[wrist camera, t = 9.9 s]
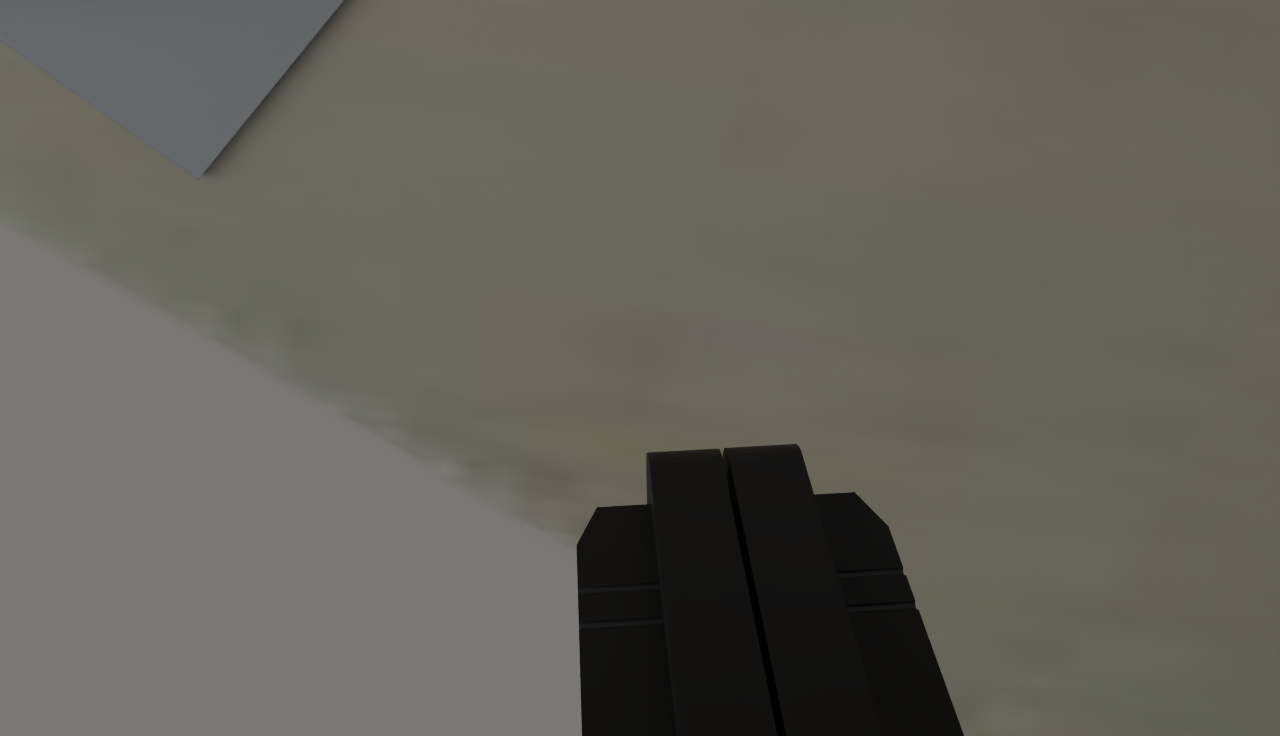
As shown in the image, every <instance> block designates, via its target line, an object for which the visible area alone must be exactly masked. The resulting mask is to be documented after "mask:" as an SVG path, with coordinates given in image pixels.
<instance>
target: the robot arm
mask: <svg viewBox="0 0 1280 736" xmlns="http://www.w3.org/2000/svg"><path fill="white" fill-rule="evenodd" d="M646 476H647V505H630V506H613V507H597V509H596V510H595V512H594V514H593V516H592V518H591V520H590V521H589V523H588V525H587V527H586V529H585V531H584V533H583V534H582V536H581V538H580V540H579V542H578V544H577V573H578V608H579V641H580V642H579V643H580V677H581V713H582V736H964V734H963V732H962V729H961V726H960V723H959V721H958V718H957V715H956V712H955V710H954V707H953V704H952V701H951V698H950V696H949V693H948V690H947V687H946V685H945V682H944V679H943V676H942V674H941V671H940V668H939V665H938V662H937V660H936V657H935V654H934V651H933V649H932V646H931V643H930V640H929V638H928V635H927V632H926V629H925V626H924V624H923V621H922V618H921V615H920V613H919V610H918V609H917V610H916V607H915V599H914V596H913V593H912V590H911V588H910V585H909V582H908V579H907V577H906V575H904V574H903V566H902V563H901V560H900V557H899V554H898V552H897V549H896V546H895V543H894V541H893V538H892V535H891V532H890V530H889V527H888V526H887V525H886V524H885V523H884V521H883V520H882V519H881V518H880V517H879V516H878V515H877V514H876V513H875V512H874V511H873V510H872V509H871V508H870V507H869V506H868V505H867V504H866V503H865V502H864V501H863V500H862V499H861V498H860V497H859V496H858V495H857V494H856V493H855V492H851V493H834V494H817V495H814V493H813V490H812V486H811V483H810V480H809V476H808V473H807V469H806V466H805V462H804V459H803V456H802V453H801V450H800V448H799V446H798V445H797V444H789V445H771V446H753V447H734V448H724V451H723V456H722V455H721V452H720V450H719V449H704V450H686V451H668V452H650V453H647V456H646Z"/></svg>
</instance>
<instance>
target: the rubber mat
mask: <svg viewBox="0 0 1280 736" xmlns="http://www.w3.org/2000/svg"><path fill="white" fill-rule="evenodd" d="M343 1H344V0H0V41H1V42H3V43H4V44H6V45H7V46H9V47H10V48H11V49H13V50H14V51H16V52H17V53H19V54H20V55H21V56H23V57H24V58H26V59H27V60H28V61H30V62H31V63H33V64H34V65H36V66H37V67H38V68H40V69H41V70H43V71H44V72H46V73H47V74H48V75H50V76H51V77H53V78H54V79H55V80H57V81H58V82H60V83H61V84H63V85H64V86H65V87H67V88H68V89H70V90H71V91H72V92H74V93H75V94H77V95H78V96H80V97H81V98H82V99H84V100H85V101H87V102H88V103H90V104H91V105H92V106H94V107H95V108H97V109H98V110H99V111H101V112H102V113H104V114H105V115H107V116H108V117H109V118H111V119H112V120H114V121H115V122H117V123H118V124H119V125H121V126H122V127H124V128H125V129H126V130H128V131H129V132H131V133H132V134H134V135H135V136H136V137H138V138H139V139H141V140H142V141H144V142H145V143H146V144H148V145H149V146H151V147H152V148H153V149H155V150H156V151H158V152H159V153H161V154H162V155H163V156H165V157H166V158H168V159H169V160H171V161H172V162H173V163H175V164H176V165H178V166H179V167H180V168H182V169H183V170H185V171H186V172H188V173H189V174H190V175H192V176H193V177H195V178H196V179H199V178H200V177H201V176H202V174H203V173H204V172H205V171H206V169H207V168H208V167H209V166H210V164H211V163H212V162H213V161H214V160H215V158H216V157H217V156H218V155H219V153H220V152H221V151H222V150H223V148H224V147H225V146H226V145H227V143H228V142H229V141H230V140H231V139H232V137H233V136H234V135H235V134H236V132H237V131H238V130H239V129H240V127H241V126H242V125H243V124H244V123H245V121H246V120H247V119H248V118H249V116H250V115H251V114H252V113H253V111H254V110H255V109H256V108H257V107H258V105H259V104H260V103H261V102H262V100H263V99H264V98H265V97H266V95H267V94H268V93H269V92H270V91H271V89H272V88H273V87H274V86H275V84H276V83H277V82H278V81H279V79H280V78H281V77H282V76H283V75H284V73H285V72H286V71H287V70H288V68H289V67H290V66H291V65H292V63H293V62H294V61H295V60H296V59H297V57H298V56H299V55H300V54H301V52H302V51H303V50H304V49H305V47H306V46H307V45H308V44H309V42H310V41H311V40H312V39H313V38H314V36H315V35H316V34H317V33H318V31H319V30H320V29H321V28H322V26H323V25H324V24H325V23H326V22H327V20H328V19H329V18H330V17H331V15H332V14H333V13H334V12H335V10H336V9H337V8H338V7H339V6H340V4H341V3H342V2H343Z"/></svg>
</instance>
